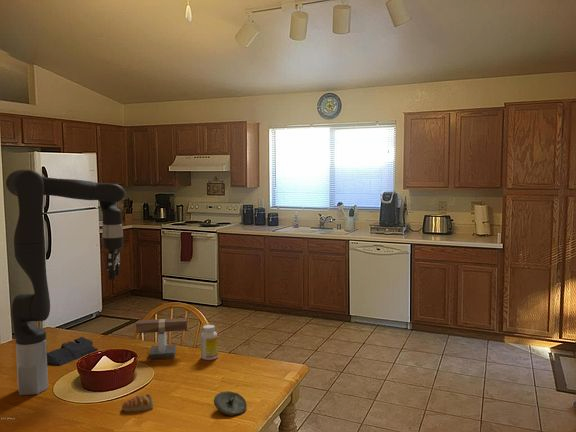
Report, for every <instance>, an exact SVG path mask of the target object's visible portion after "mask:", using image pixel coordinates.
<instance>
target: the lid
mask: <svg viewBox="0 0 576 432" xmlns="http://www.w3.org/2000/svg"><path fill="white" fill-rule="evenodd" d="M213 404H214V406H215V408H216V409H217V411H219V412H220V413H222V414H224V415H226V416H229V417H231V416H232V417H233V416H239V415H242V414H243V413H244V412H246V410H247V407H248V406H247V401H246V400H245V398H244V397H243V396H242V395H241V394H240V393H237V392H234V391H220V392H218V393H217V394H216V395H215V396H214V398H213Z"/></svg>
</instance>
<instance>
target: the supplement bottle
mask: <svg viewBox="0 0 576 432" xmlns="http://www.w3.org/2000/svg"><path fill="white" fill-rule="evenodd" d="M215 328H216V327H215V325H214V324H206V325H203V326H202V330H203V332H201V334H200V356H201V359H202V360H205V361H211V360H215V359H217V358H218V356H219V355H218V354H219V351H218V350H219V348H218V347H219V345H218V333H217V331H215V330H216V329H215Z"/></svg>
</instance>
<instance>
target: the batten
mask: <svg viewBox="0 0 576 432" xmlns="http://www.w3.org/2000/svg"><path fill="white" fill-rule="evenodd" d="M135 326H136V327H135V330H136V331H135V333H136V334H147V333H148V334H149V333H159V332H166V333H168V332H186V331H188V318H185V317H183V318H165V319H164V318H163V319H161V318H160V319H148V320H147V319H144V320H141V319H140V320H137V321H136V323H135Z"/></svg>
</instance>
